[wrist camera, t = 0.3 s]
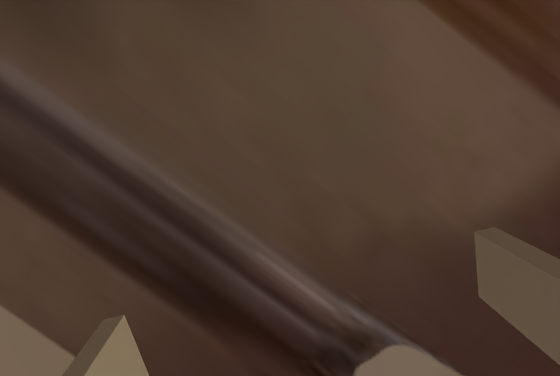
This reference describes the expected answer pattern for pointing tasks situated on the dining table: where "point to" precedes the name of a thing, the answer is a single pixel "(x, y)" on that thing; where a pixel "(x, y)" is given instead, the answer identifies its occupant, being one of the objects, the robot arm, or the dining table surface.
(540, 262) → the robot arm
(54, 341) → the dining table surface
